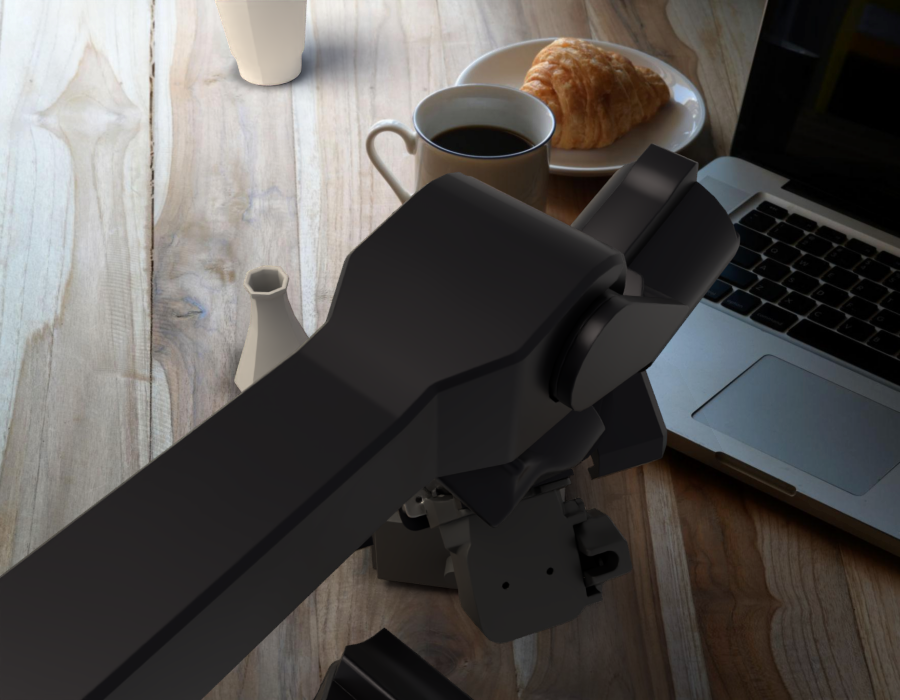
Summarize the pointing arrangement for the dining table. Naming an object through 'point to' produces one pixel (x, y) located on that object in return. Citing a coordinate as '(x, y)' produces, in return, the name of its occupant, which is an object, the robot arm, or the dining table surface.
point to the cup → (265, 37)
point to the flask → (268, 325)
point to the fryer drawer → (413, 555)
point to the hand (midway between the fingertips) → (435, 471)
